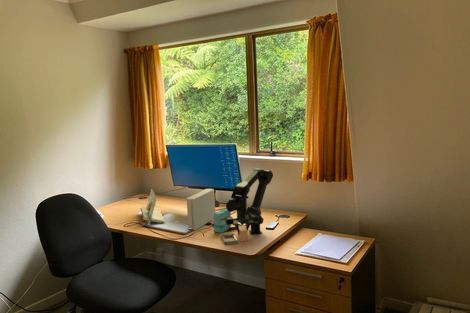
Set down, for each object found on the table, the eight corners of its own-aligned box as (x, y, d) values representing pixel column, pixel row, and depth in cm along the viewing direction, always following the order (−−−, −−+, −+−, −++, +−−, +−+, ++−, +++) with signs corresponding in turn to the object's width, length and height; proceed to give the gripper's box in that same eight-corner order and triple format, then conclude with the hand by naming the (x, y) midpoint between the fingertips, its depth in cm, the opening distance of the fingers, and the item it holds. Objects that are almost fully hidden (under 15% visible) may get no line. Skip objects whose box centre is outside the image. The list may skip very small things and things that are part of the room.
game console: (187, 229, 229) (185, 198, 226) (207, 216, 253) (206, 188, 251) (195, 230, 226) (193, 199, 224) (215, 217, 251) (214, 189, 248)
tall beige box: (237, 236, 213) (237, 226, 212) (244, 235, 214) (244, 225, 213) (240, 241, 205) (240, 230, 204) (247, 240, 206) (247, 230, 205)
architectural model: (133, 223, 236) (142, 191, 235) (131, 211, 263) (139, 182, 263) (163, 228, 243) (172, 197, 242) (158, 216, 270) (166, 188, 269)
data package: (220, 233, 219) (219, 214, 218) (214, 232, 222) (213, 213, 220) (231, 227, 229) (230, 209, 228) (225, 226, 232) (224, 208, 230)
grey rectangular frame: (221, 237, 213) (221, 234, 213) (234, 236, 214) (234, 233, 214) (224, 244, 202) (224, 242, 202) (238, 243, 203) (238, 240, 203)
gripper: (227, 213, 197) (229, 240, 200) (261, 209, 201) (262, 237, 203) (224, 207, 208) (225, 234, 210) (256, 204, 212) (257, 230, 214)
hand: (242, 234), depth 209 cm, fingers closed on tall beige box, 4 cm apart
